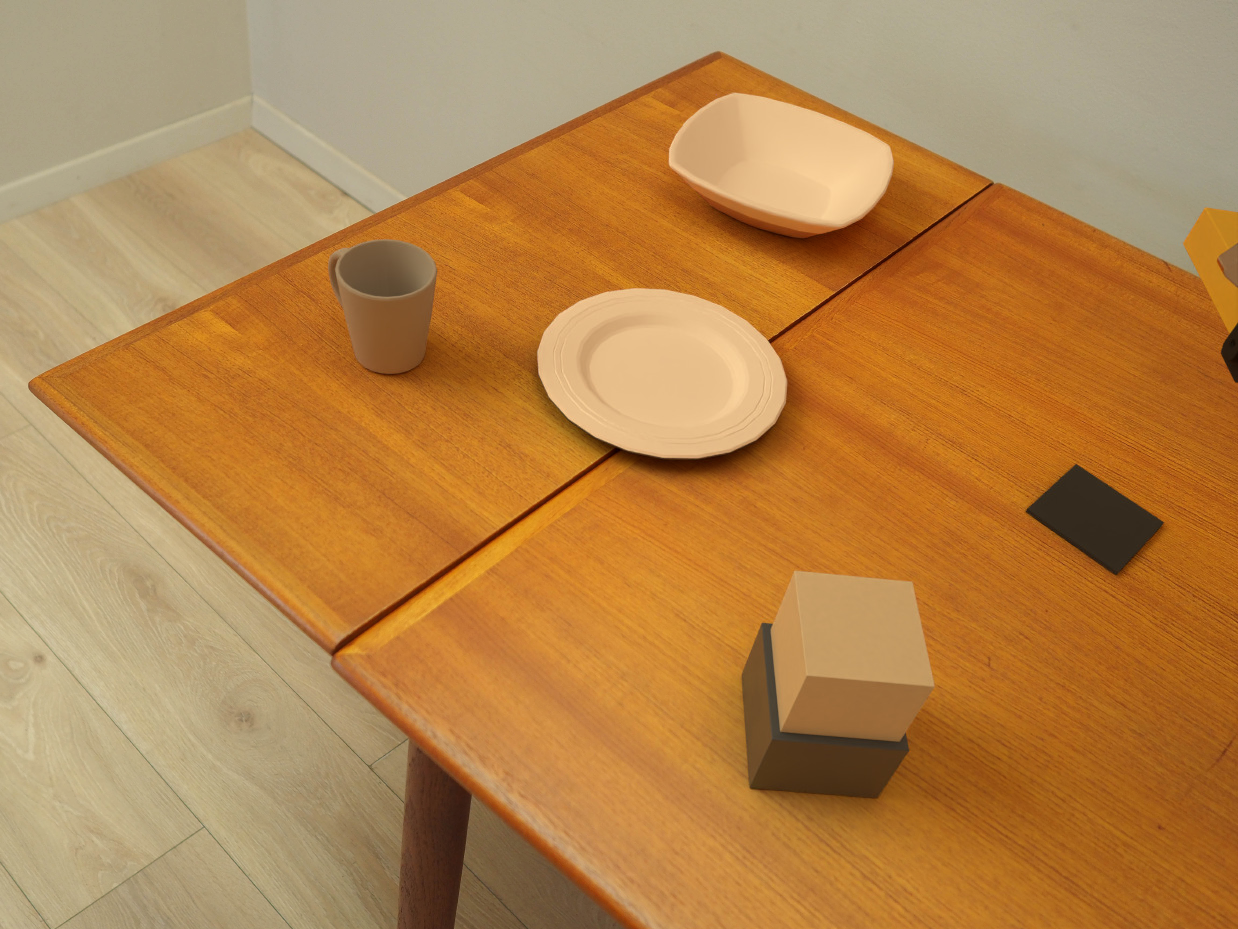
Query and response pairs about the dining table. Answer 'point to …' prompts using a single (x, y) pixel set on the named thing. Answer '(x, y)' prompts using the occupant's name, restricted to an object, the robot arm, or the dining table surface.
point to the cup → (385, 301)
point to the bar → (1215, 259)
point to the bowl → (781, 165)
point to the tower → (835, 686)
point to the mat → (1095, 518)
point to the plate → (662, 374)
